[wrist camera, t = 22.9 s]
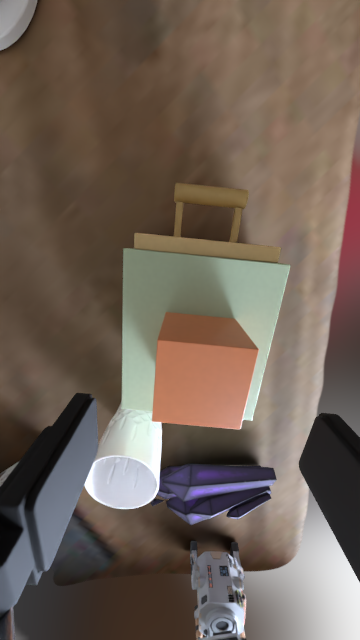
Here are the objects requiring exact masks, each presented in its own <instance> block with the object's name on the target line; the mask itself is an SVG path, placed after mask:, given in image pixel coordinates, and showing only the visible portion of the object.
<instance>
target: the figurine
mask: <svg viewBox="0 0 360 640" xmlns="http://www.w3.org/2000/svg"><path fill="white" fill-rule="evenodd" d="M190 561H191V575H192V589H196V590H197V593H198V594H197V596H198V605H197V606H195V614H194V616H195V619H196V639H197V640H246V637H245V631H244V624H245V617H246V615H245V613H246V609H245V608H246V599H245V594H243V592H242V594H241V591H242V590H243V589H244V585H243V579H244V578H245V576H244V574H243V568H242V567H241V565H240V559H239V549H238V543H237V542H231V550H230V555H229V554H228V553H227V552H218V551H210V552H204V553H203V554H202V555H200V556H199V557H198V558H197V542H196V541H191V548H190ZM240 590H241V591H240ZM202 633H203V634H204V635H205V636H206V637H205V638H202Z"/></svg>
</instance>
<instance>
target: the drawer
mask: <svg viewBox="0 0 360 640" xmlns="http://www.w3.org/2000/svg"><path fill="white" fill-rule="evenodd" d="M248 195H249V192H248V190H243V189H234V188H224V187H214V186H205V185H195V184H185V183H175V191H174V202H176V213H175V226H174V237H173V236H163V235H153V234H143V233H135V234H134V249H139V250H149V251H159V252H169V253H179V254H189V255H199V256H209V257H220V258H230V259H240V260H250V261H260V262H270V263H278V259H279V255H280V251H281V247H273V246H263V245H253V244H243V243H237V240H238V234H239V228H240V222H241V216H242V210H243V209H244V208H245V207H246V204H247V201H248ZM184 203H189V204H199V205H209V206H219V207H229V208H235V209H234V215H233V221H232V227H231V234H230V240H229V242H223V241H213V240H203V239H193V238H183V237H181V227H182V216H183V204H184Z"/></svg>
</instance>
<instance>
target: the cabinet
mask: <svg viewBox="0 0 360 640" xmlns="http://www.w3.org/2000/svg"><path fill="white" fill-rule="evenodd" d="M289 269H290V265H289V264H281V263H270V262H260V261H250V260H240V259H230V258H220V257H209V256H199V255H189V254H179V253H169V252H159V251H149V250H139V249H129V248H124V249H123V321H122V409H130V410H142V411H153V397H154V382H155V367H156V352H157V340H158V336H159V333H160V330H161V326H162V323H163V320H164V316H165V313H166V312H171V313H181V314H192V315H202V316H212V317H223V318H233V319H236V320H237V322H238V323H239V324H240V326H241V327H242V328H243V329H244V331H245V332H246V333H247V335H248V336H249V337H250V338H251V340H252V341H253V342H254V344H255V345H256V346H257V348H258V349H259V351H258V356H257V360H256V364H255V369H254V373H253V377H252V381H251V386H250V390H249V394H248V399H247V403H246V407H245V412H244V416H243V420H252V418H253V414H254V410H255V406H256V402H257V398H258V394H259V390H260V386H261V382H262V378H263V374H264V370H265V366H266V362H267V358H268V354H269V350H270V346H271V342H272V338H273V334H274V330H275V326H276V322H277V318H278V313H279V309H280V305H281V301H282V297H283V293H284V289H285V285H286V281H287V277H288V273H289Z"/></svg>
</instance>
